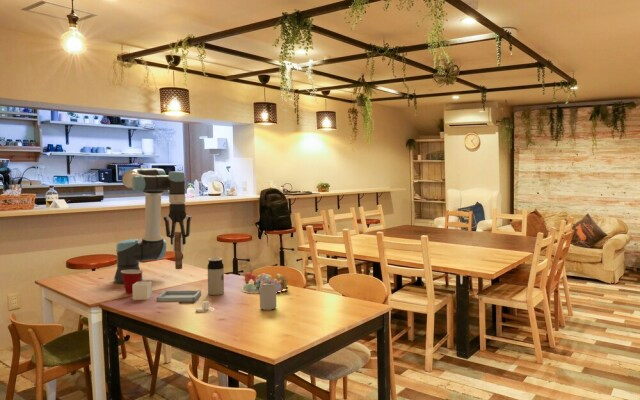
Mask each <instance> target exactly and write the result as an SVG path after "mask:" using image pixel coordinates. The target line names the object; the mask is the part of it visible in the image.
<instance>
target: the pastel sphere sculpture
mask: <svg viewBox="0 0 640 400" xmlns="http://www.w3.org/2000/svg"><path fill="white" fill-rule="evenodd" d="M250 280H252V282H250ZM263 282H274V283H275V285H276V292H278V291H282V290H283V289H286V287H287V286H288V282H289V280H288V279H286V275H285V274H283V275H282V274H281V273H275V276H274V278H273V276H272V275H270V274H267V273H261V274H258V275H257V278H256V274H252V272H249V271H247V272H246V273H244V283H245V284H243V286H242V287H241V289H242V290H241V291H242V293H244V292H246V293H245V294H248V293H260V286H261V283H263ZM287 288H288V287H287Z"/></svg>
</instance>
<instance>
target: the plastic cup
mask: <svg viewBox="0 0 640 400" xmlns="http://www.w3.org/2000/svg"><path fill="white" fill-rule="evenodd" d="M121 273H122V277H123V281H124V283H123V286H124V289H125V293H126V294H130V295H131V294H132V295H133V289H132V285H133V284H135V283H136V282H141V281H142V280H141V275H142V276H143V273H144V271H143V270H141V269H140V270H122V271H121ZM140 280H141V281H140Z"/></svg>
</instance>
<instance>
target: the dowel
mask: <svg viewBox="0 0 640 400" xmlns="http://www.w3.org/2000/svg"><path fill="white" fill-rule="evenodd" d="M174 236H175V237H174V238H175V252H174V262H175V263H174V265H175V266H174V267H175V270H182V269H183V252H181V238H182V234H181V231H175V234H174Z"/></svg>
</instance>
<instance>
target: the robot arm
mask: <svg viewBox="0 0 640 400" xmlns="http://www.w3.org/2000/svg"><path fill="white" fill-rule="evenodd" d="M185 175H186V174H185V172H184V171H168V174H167V173H166V171H165V170H164V169H163V168H156V167H154V168H153V167H151V168H132V169H128V170H126V171H125V172H124V173H123V175H122V177H121V183H122V185H123V186H124V187H125V188H127V189H129V190H130V189H132V190H133V191H134V192H142V193H143V194H144V195H145V196H144V197H145V201H144V202H145V203H144V205H145V207H144V208H145V209H144V223H145V224H144V235H143V236H142V237H141V240H139V239H138V238H130V239H124V240H121V241H119V242H117V244H116V271H115V273H114V278H113V282H114V284H115V283H116V284H124V281H123V277H122V273H121V271H122V270H141V269H140V262H149V261H157V260H162V259H163V258H164V257H165V255H166V252H167V241H166V239H164V237H163V235H162V234H161V231H162V230H161V229H162V228H161V225H162V223H161V222H162V221H161V220H162V219H161V217H162V216H161V215H162V195H163V194H164V193H165V191H167V192H168V202H169V207H168V209H169V213H168V215H167V216H164V217H163V221H164V224H165V234H166V235H165V236H166V237H167V238H170V245H172V252H173V253H175V232H176V226H177V223H179V227H180V232H181V237H182V238H181V252H182V253H184V251H185V248H184V247H185V245H186V242H187V241H186V239H187V238H189V236H190V233H191V221H192V219H193V218H192V216H190V215H187V212H186V177H185ZM170 220H171V226H170ZM185 220H186V225H184V223H185ZM170 227H171V229H170ZM185 227H186V228H185ZM142 281H143V274H142V275H141V280H140V282H142Z"/></svg>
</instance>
